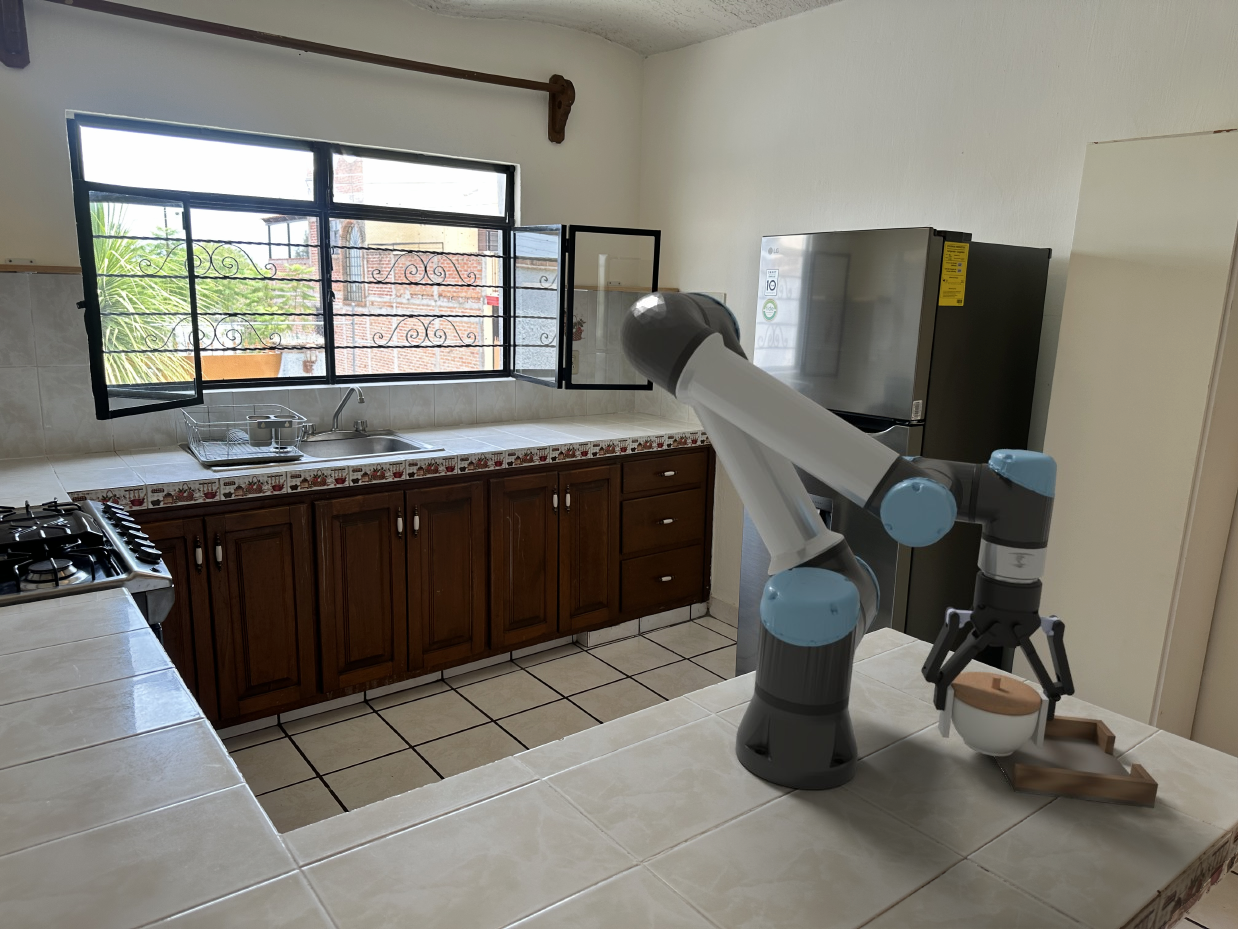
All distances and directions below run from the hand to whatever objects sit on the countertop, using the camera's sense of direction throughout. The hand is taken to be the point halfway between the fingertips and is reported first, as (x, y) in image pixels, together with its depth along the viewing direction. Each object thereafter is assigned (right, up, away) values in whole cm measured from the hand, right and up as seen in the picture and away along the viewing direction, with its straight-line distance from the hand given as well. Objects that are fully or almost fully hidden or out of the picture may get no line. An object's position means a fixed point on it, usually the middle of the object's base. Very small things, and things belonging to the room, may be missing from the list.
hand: (989, 737), depth 109 cm
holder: (+9, -3, -1) cm, 9 cm away
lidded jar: (0, -1, 0) cm, 1 cm away
